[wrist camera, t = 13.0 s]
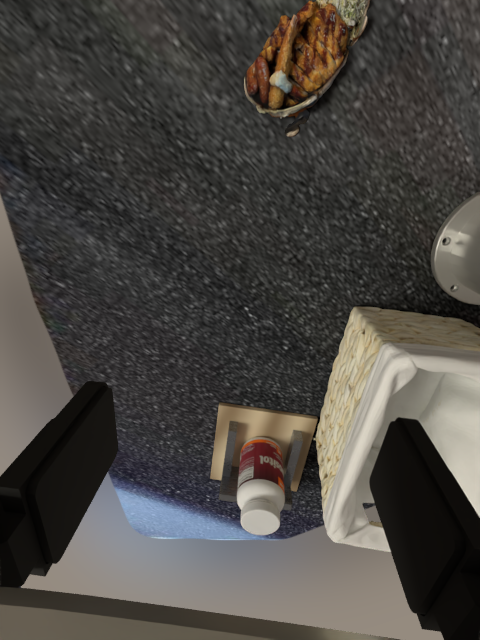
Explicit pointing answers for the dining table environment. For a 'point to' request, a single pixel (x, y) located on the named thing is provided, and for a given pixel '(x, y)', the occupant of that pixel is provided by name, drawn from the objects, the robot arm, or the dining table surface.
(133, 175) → the dining table surface
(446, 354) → the storage basket
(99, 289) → the dining table surface
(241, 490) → the pill bottle
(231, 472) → the gunmetal guide rail
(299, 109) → the orange brown oval heap
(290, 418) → the maple board
